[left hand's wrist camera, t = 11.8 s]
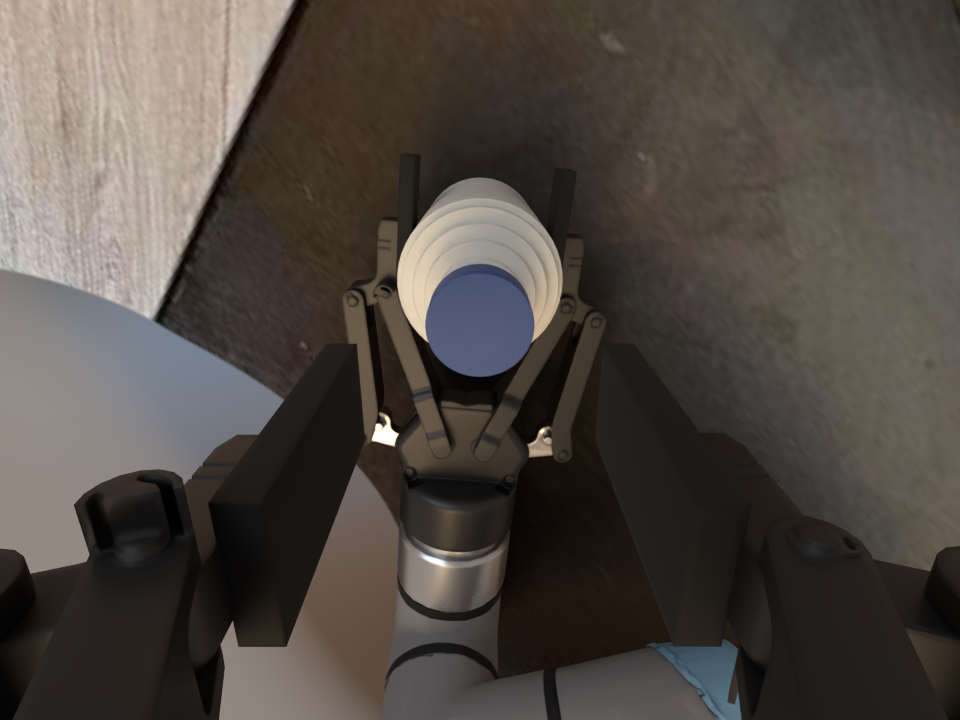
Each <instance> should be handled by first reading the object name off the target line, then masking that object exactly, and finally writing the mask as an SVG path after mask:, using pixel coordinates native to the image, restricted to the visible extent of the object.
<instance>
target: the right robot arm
mask: <svg viewBox="0 0 960 720" xmlns="http://www.w3.org/2000/svg"><path fill="white" fill-rule="evenodd" d="M420 157H421V155H418V154H402V155H400V176H399V204H398V218H397V217H384V218H383V219H382V220H381V222H380V225H379V227H378V232H377V272H376V276H375V277H373V278H370V279H366V280H357V281H355V282H354V283H353V284H352V285H351V286H350V287H349V289H348V290H347V291H346V292H345V293H344V295H343V297H342V305H343V312H344V318H345V325H346V332H347V339H348V344H357V350H358V362H359V374H360V385H361V397H362V408H363V420H364V432H365V441H364V444H363V447H364V446H368V445H369V444H370V443H371V441H375V442H379V443H383V444H387V445H391V446H394V447H395V450H396V452H397V454H398V456H399V458H400V460H401V463H402V482H401V503H400V517H401V522H400V526H399V547H398V587H397V600H396V612H395V624H394V632H393V639H392V644H391V650H390V656H389V661H388V667H387V673H386V680H385V696H384V701H383V706H382V710H381V715H380V720H741V712H740V703H739V694H737V698H736V702H735V705H734V704H730V703H727V700H728V694H729V689H730V684H731V680H732V676H733V671H734V667H735V662H736V658H737V654H738V649H737V648H736V647H735V646H734V645H733V644H732V643H730V642H728V641H727V640H725V639H723V642H722V646H721V647H674V646H673V644H672V642H667V643H659V644H657V643H651V644H647V646H646V648H643V649H639V650H634V651H630V652H626V653H621V654H617V655H613V656H608V657H604V658H600V659H595V660H591V661H587V662H582V663H578V664H574V665H570V666H565V667H561V668H551V669H547V670H541V671H536V672H531V673H526V674H521V675H516V676H511V677H506V678H501V679H499V677H498V652H497V631H498V619H499V609H500V599H501V591H502V586H503V580H504V577H505V569H506V562H507V554H508V547H509V539H510V527H511V523H512V517H513V510H514V502H515V495H516V488H517V480H518V475H519V472H520V470H521V469H522V467H523V466H524V465H525V464H526V462H527V461H528V458H529V457H539V456H549V455H553V457H554V459H555V460H556V461H557V462H560V463H564V462H567V461H569V460H570V459H571V457H572V441H571V428H572V425H573V422H574V419H575V416H576V413H577V410H578V407H579V404H580V401H581V398H582V395H583V392H584V389H585V386H586V383H587V380H588V377H589V374H590V371H591V368H592V365H593V362H594V359H595V356H596V353H597V350H598V347H599V345H600V342H601V339H602V336H603V333H604V330H605V327H606V322H607V320H606V317H605V315H604V314H603V313H602V311H601V310H600V308H599V307H598V305H597V304H596V303H595V302H593V301H588V300H586V299H584V298H582V297H580V296H579V295H578V287H579V281H580V275H581V268H582V262H583V256H584V250H585V247H584V243H583V239H582V238H581V237H580V236H579V235H578V234H568V226H569V219H570V213H571V206H572V199H573V192H574V185H575V179H576V172H575V171H573V170H570V169H562V168H555V172H554V180H553V187H552V195H551V202H550V210H549V217H548V225H547V232H548V234H549V235H550V237H551V239H552V240H553V242H554V244H555V246H556V249H557V251H558V254H559V257H560V260H561V266H562V276H563V284H562V293H561V297H560V301H559V304H558V307H557V310H556V312H555V314H554V316H553V318H552V320H551V322H550V323H549V324H548V326H547V327H546V329H545V330H544V331H543V332H542V333H541V334H540V335H539V336H538V338H536V339H535V340H534V341H533V342H532V343H531V344H530V347H529V348H528V350H527V352H526V353H525V355H524V356H523V357H522V358H521V360H520V361H519V362H518V363H516V364H515V365H514V366H513V367H511V368H510V369H508V370H507V371H506V372H505V374H504V376H503V377H502V378H500V379H499V381H498V383H497V384H496V386H495V388H494V390H493V391H485V390H477V391H471V392H465V391H462V390H459V389H456V388H449V387H443V389H442V386H441V383H440V380H439V378H438V375H437V373H436V372H435V371H434V368H433V366H432V363H431V360H430V357H429V354H428V352H427V349H426V346H425V343H424V340H423V338H422V337H421V336H420V335H419V334H418V333H417V331H416V330H415V329H414V327H413V326H412V325H411V323H410V322H409V320H408V318H407V317H406V315H405V312H404V310H403V308H402V305H401V302H400V298H399V293H398V286H397V273H398V265H399V261H400V257H401V253H402V251H403V248H404V246H405V244H406V242H407V240H408V238H409V237H410V235H411V233H412V232H413V231H414V229H415V228H416V226H417V218H418V198H419V177H420ZM377 303H378V304H379V306H380V309H381V312H382V314H383V317H384V320H385V322H386V325H387V328H388V330H389V333H390V335H391V338H392V341H393V343H394V346H395V349H396V351H397V354H398V357H399V359H400V362H401V364H402V367H403V370H404V372H405V375H406V378H407V380H408V383H409V385H410V388H411V391H412V396H413V402H414V405H415V407H416V411H415V412H414V413H413V414H412V415H411V416H410V417H409V418H408V419H407V421H406V422H405V423H404V424H403V425H402V426H401V427H400V426H398V425H396V424H395V423H394V422H393V419H392V412H391V410H390V409H389V408H388V407H387V406H383V401H384V385H383V377H382V369H381V361H380V354H379V346H378V338H377V330H376V322H375V314H374V306H373V304H377ZM571 320H572V321H574V324H573V328H572V331H571V334H570V337H569V340H568V343H567V347H566V350H565V353H564V356H563V359H562V363H561V366H560V369H559V372H558V375H557V378H556V382H555V385H554V388H553V391H552V394H551V398H550V401H549V405H548V410H547V420H546V419H543V420H541V421H540V422H539V423H538V425H537V427H536V431H535V433H534V434H533V435H531V436H529V437H526V436H525V434H524V433H523V431H522V430H521V428H520V427H519V425H518V423H517V422H516V420H515V417H516V416H517V414H518V412H519V410H520V408H521V404H522V401H523V399H524V398H525V396H526V394H527V393H528V391H529V389H530V388H531V386H532V384H533V383H534V381H535V379H536V378H537V376H538V374H539V373H540V371H541V369H542V368H543V366H544V364H545V363H546V361H547V359H548V358H549V356H550V354H551V353H552V351H553V349H554V348H555V346H556V344H557V343H558V341H559V339H560V338H561V336H562V334H563V333H564V331H565V329H566V328H567V326H568V324H569V323H570V321H571Z"/></svg>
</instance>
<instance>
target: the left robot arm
mask: <svg viewBox="0 0 960 720" xmlns="http://www.w3.org/2000/svg"><path fill="white" fill-rule="evenodd" d="M364 441H365V432H364V420H363V408H362V397H361V385H360V374H359V362H358V350H357V344H326V345H325V346H324V348H323V349H322V350H321V352H320V353H319V355H318V356H317V357H316V359H315V360H314V361H313V363H312V364H311V365H310V367H309V368H308V369H307V371H306V372H305V373H304V375H303V376H302V377H301V379H300V380H299V381H298V383H297V384H296V385H295V387H294V388H293V389H292V391H291V392H290V393H289V395H288V396H287V397H286V399H285V400H284V401H283V403H282V404H281V406H280V407H279V408H278V410H277V411H276V412H275V414H274V415H273V416H272V418H271V419H270V420H269V422H268V423H267V424H266V426H265V427H264V428H263V430H262V431H261V432H260V434H259V435H236V436H234V437H233V438H231V439H230V440H228V441H226V442H225V443H223V444H221V445H220V446H218V447H217V448H215V449H214V451H213V452H212V453H211V454H210V455H209V456H208V458H207V459H206V460H205V461H204V462H203V466H200V467H199V468H198V469H197V471H196V472H195V473H194V474H193V475H192V479H189V480H188V481H187V482H186V484H185V485H184V484H183V480H182V478H181V477H180V476H178V475H177V474H176V473H174V472H170V471H165V470H142V471H137V472H133V473H128V474H124V475H120V476H118V477H115V478H113V479H110V480H108V481H105V482H103V483H101V484H99V485H97V486H96V487H94V488H92V489H91V490H89V491H88V492H86V493H85V494H83V496H82V497H81V498H80V499H79V500H78V501H77V502H76V503H75V504H74V507H75V510H76V513H77V516H78V519H79V523H80V526H81V529H82V532H83V535H84V538H85V541H86V544H87V547H88V551H89V554H90V555H89V558H88V560H87V562H84V563H80V564H76V565H71V566H66V567H62V568H57V569H52V570H47V571H42V572H37V573H32V574H30V572H29V569H28V566H27V564H26V561H25V558H24V556H23V555H21V554H20V553H18V552H17V551H15V550H8V549H0V720H219V713H220V705H221V696H222V687H223V678H224V669H225V666H224V659H223V654H222V649H221V645H220V644H221V642H222V640H223V638H224V636H225V634H226V632H227V631H228V629H229V627H230V625H231V623H232V621H233V623H234V628H235V632H236V637H237V641H238V646H239V647H286V646H287V644H288V641H289V638H290V636H291V633H292V630H293V628H294V625H295V623H296V620H297V617H298V615H299V612H300V609H301V607H302V604H303V602H304V599H305V596H306V594H307V591H308V589H309V586H310V583H311V581H312V578H313V575H314V573H315V570H316V567H317V565H318V562H319V560H320V557H321V554H322V552H323V549H324V546H325V544H326V541H327V539H328V536H329V533H330V531H331V528H332V525H333V523H334V520H335V517H336V515H337V512H338V510H339V507H340V504H341V502H342V499H343V496H344V494H345V491H346V489H347V486H348V483H349V481H350V478H351V475H352V473H353V470H354V468H355V465H356V462H357V460H358V457H359V454H360V452H361V449H362V447H363V444H364ZM595 441H596V444H597V447H598V449H599V452H600V454H601V457H602V460H603V462H604V465H605V468H606V470H607V473H608V475H609V478H610V481H611V483H612V486H613V489H614V491H615V494H616V497H617V499H618V502H619V504H620V507H621V510H622V512H623V515H624V518H625V520H626V523H627V525H628V528H629V531H630V533H631V536H632V539H633V541H634V544H635V546H636V549H637V552H638V554H639V557H640V560H641V562H642V565H643V567H644V570H645V573H646V575H647V578H648V581H649V583H650V586H651V589H652V591H653V594H654V596H655V599H656V602H657V604H658V607H659V610H660V612H661V615H662V617H663V620H664V623H665V625H666V628H667V631H668V633H669V636H670V638H671V641H672V644H673V646H674V647H721V646H722V642H723V637H724V632H725V628H726V623H727V618H728V620H729V622H730V624H731V626H732V628H733V630H734V632H735V633H736V635H737V637H738V639H739V641H740V645H739V649H738V654H737V658H736V662H735V667H734V671H733V676H732V680H731V684H730V689H729V694H728V700H727V703H730V704H734V705H735V702H736V698H737V694H739V703H740V712H741V720H960V546H957V547H946V548H945V549H943V550H942V551H941V552H939V553H938V554H937V556H936V558H935V561H934V564H933V566H932V569H931V572H930V571H926V570H921V569H916V568H911V567H906V566H901V565H896V564H892V563H887V562H882V561H878V560H874V559H873V558H872V556H871V554H870V553H869V551H868V550H867V549H866V548H865V546H864V545H863V544H862V542H861V541H859V540H858V539H857V538H855V537H854V536H853V535H851V534H850V533H848V532H847V531H846V530H844V529H842V528H839V527H837V526H835V525H833V524H831V523H829V522H826V521H823V520H819V519H815V518H811V517H808V516H804V515H803V514H802V512H801V511H800V510H799V509H798V508H797V507H796V505H795V504H794V503H793V502H792V501H791V500H790V498H789V497H788V496H787V495H786V494H785V493H784V491H783V490H782V489H781V488H780V487H779V486H778V484H777V483H776V482H775V481H774V480H773V479H772V477H769V474H768V473H767V472H766V470H765V469H764V468H763V467H762V466H761V465H760V464H758V461H757V460H756V459H755V458H754V456H753V455H752V454H751V453H750V452H749V451H748V449H747V448H746V447H745V446H744V445H742V444H740V443H739V442H737V441H735V440H734V439H732V438H730V437H729V436H727V435H726V434H724V433H700V432H699V431H698V430H697V428H696V427H695V426H694V424H693V423H692V422H691V420H690V419H689V418H688V416H687V415H686V414H685V412H684V411H683V410H682V408H681V407H680V406H679V404H678V403H677V401H676V400H675V399H674V397H673V396H672V395H671V393H670V392H669V391H668V389H667V388H666V387H665V385H664V384H663V383H662V381H661V380H660V379H659V377H658V376H657V375H656V373H655V372H654V371H653V369H652V368H651V367H650V365H649V364H648V363H647V361H646V360H645V359H644V357H643V356H642V355H641V353H640V352H639V350H638V349H637V348H636V346H635V345H634V344H603V350H602V362H601V374H600V385H599V397H598V408H597V420H596V432H595Z"/></svg>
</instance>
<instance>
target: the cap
mask: <svg viewBox="0 0 960 720" xmlns="http://www.w3.org/2000/svg"><path fill="white" fill-rule="evenodd" d="M534 326H535V325H534V315H533V311H532V308H531V304H530V301H529V298H528V295H527V293H526V291H525V289H524V287H523V286H522V284H521V283H520V282H519V281H518V280H517V279H516V278H515V277H514V276H513V275H512V274H510V273H509V272H507V271H506V270H504V269H501V268H499V267H496V266H493V265H488V264H471V265H467V266H463V267H461V268H458V269H456V270H454V271H452V272H451V273H450V274H448V275H447V276H446V277H445V278H444V279H442V281H441V282H440V283H439V284H438V285H437V287H436V289H435V290H434V292H433V295H432V297H431V300H430V304H429V307H428V310H427V314H426V320H425V330H426V336H427V340H428V342H429V345H430V347H431V349H432V351H433V352H434V354H435V355H436V356H437V358H438V359H439V360H440V361H441V362H442V363H443V364H445V365H446V366H447V367H448V368H450V369H452V370H454V371H456V372H458V373H460V374H464V375H467V376H473V377H486V376H492V375H496V374H499V373H502V372H504V371H506V370H508V369H510V368H511V367H513V366H514V365H515V364H516V363H518V362H519V361H520V360H521V358H522V357H523V356H524V355H525V353H526V352H527V350H528V348H529V347H530V344H531V342H532V339H533V334H534Z"/></svg>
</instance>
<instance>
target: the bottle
mask: <svg viewBox="0 0 960 720" xmlns="http://www.w3.org/2000/svg"><path fill="white" fill-rule="evenodd" d="M471 264H488V265H493V266H496V267H499V268H501V269H504V270H506V271H507V272H509V273H510V274H512V275H513V276H514V277H515V278H516V279H517V280H518V281H519V282H520V283H521V284H522V286H523V287H524V289H525V291H526V293H527V295H528V298H529V301H530V304H531V308H532V311H533V315H534V325H535V326H534V334H533V339H532V342H533V341H534V340H535V339H536V338H538V336H539V335H540V334H541V333H542V332H543V331H544V330H545V329H546V327H547V326H548V324H549V323H550V322H551V320H552V318H553V316H554V314H555V312H556V310H557V307H558V304H559V301H560V297H561V293H562V284H563V276H562V266H561V260H560V257H559V254H558V251H557V249H556V246H555V244H554V242H553V240H552V239H551V237H550V235H549V234H548V232H547V231H546V229H545V228H544V227H543V225H542V224H541V222H540V221H539V220H538V218H537V217H536V215H535V214H534V213H533V211H532V210H531V208H530V207H529V206H528V204H527V203H526V201H525V200H524V199H523V198H522V196H521V195H520V194H519V193H518V192H516V191H515V190H514V189H513V188H511V187H510V186H508V185H507V184H505V183H503V182H500V181H497V180H494V179H489V178H470V179H466V180H462V181H460V182H457V183H455V184H453V185H452V186H450V187H449V188H447V189H446V190H445V191H443V192H442V193H441V194H440V195H439V196H438V198H437V199H436V200H435V201H434V203H433V204H432V206H431V207H430V208H429V210H428V211H427V213H426V214H425V215H424V217H423V218H422V220H421V221H420V222H419V224H418V225H417V226H416V228H415V229H414V231H413V232H412V233H411V235H410V237H409V238H408V240H407V242H406V244H405V246H404V248H403V251H402V253H401V257H400V261H399V265H398V273H397V286H398V293H399V298H400V302H401V305H402V308H403V310H404V312H405V315H406V317H407V318H408V320H409V322H410V323H411V325H412V326H413V327H414V329H415V330H416V331H417V333H418V334H419V335H420V336H421V337H423V338H424V339H425V340H426V341H427V342H428V340H427V336H426V330H425V320H426V314H427V310H428V307H429V304H430V300H431V297H432V295H433V292H434V290H435V289H436V287H437V285H438V284H439V283H440V282H441V281H442V279H444V278H445V277H446V276H447V275H448V274H450V273H451V272H452V271H454V270H456V269H458V268H461V267H463V266H467V265H471ZM532 342H531V343H532ZM428 343H429V342H428Z"/></svg>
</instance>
